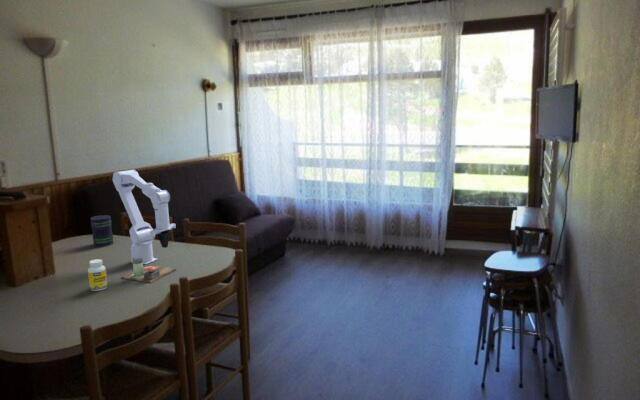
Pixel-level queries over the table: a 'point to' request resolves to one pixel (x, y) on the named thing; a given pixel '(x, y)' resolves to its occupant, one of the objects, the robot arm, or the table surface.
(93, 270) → the pill bottle
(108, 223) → the storage jar
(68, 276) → the table surface
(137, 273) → the pale green jar
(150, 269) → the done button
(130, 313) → the table surface
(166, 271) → the board
